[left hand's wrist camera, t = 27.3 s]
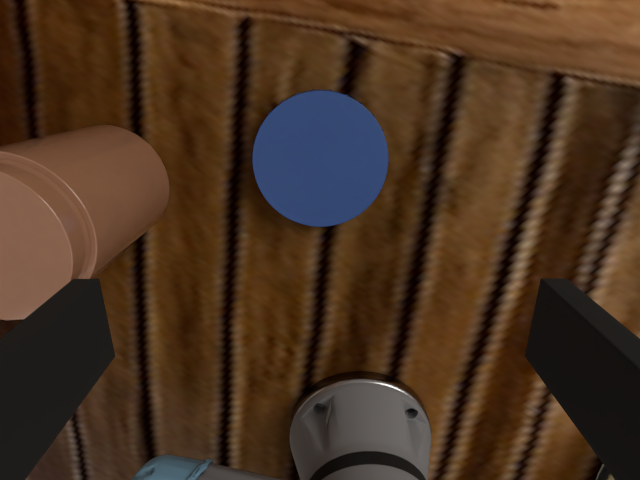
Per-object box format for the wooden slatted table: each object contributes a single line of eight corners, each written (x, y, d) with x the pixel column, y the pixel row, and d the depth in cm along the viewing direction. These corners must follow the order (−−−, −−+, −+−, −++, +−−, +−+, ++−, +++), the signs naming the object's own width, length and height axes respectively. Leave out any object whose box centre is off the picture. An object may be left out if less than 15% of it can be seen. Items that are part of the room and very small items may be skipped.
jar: (31, 166, 37) (-149, 222, 23) (116, 100, 35) (-23, 118, 21) (110, 254, 40) (-6, 352, 26) (192, 198, 38) (117, 272, 24)
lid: (344, 239, 40) (345, 249, 38) (233, 182, 38) (228, 188, 36) (410, 132, 36) (416, 135, 34) (292, 62, 34) (291, 61, 32)
